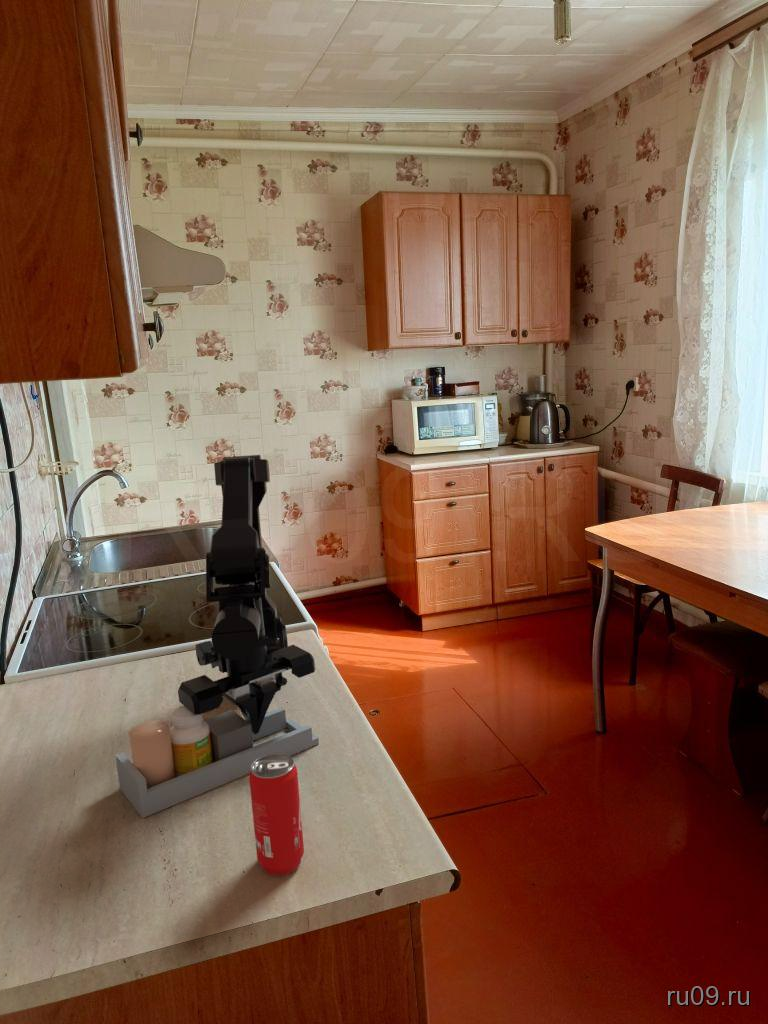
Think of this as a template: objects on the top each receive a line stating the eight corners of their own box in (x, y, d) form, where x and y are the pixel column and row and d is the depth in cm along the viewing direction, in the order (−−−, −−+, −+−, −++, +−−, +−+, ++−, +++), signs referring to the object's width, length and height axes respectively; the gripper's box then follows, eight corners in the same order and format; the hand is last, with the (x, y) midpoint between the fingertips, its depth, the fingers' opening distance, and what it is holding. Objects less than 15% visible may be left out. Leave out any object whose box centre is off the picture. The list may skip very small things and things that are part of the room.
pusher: (235, 747, 107) (231, 709, 106) (254, 763, 103) (251, 724, 101) (203, 760, 104) (199, 721, 103) (221, 777, 100) (217, 736, 98)
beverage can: (259, 849, 85) (250, 754, 82) (305, 844, 85) (297, 750, 83) (256, 880, 80) (245, 780, 77) (304, 875, 80) (295, 776, 78)
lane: (288, 723, 114) (286, 693, 113) (318, 744, 107) (316, 712, 106) (120, 788, 99) (115, 754, 97) (142, 818, 92) (137, 782, 91)
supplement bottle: (203, 790, 97) (195, 722, 95) (166, 787, 98) (157, 720, 96) (220, 767, 102) (213, 703, 100) (185, 765, 104) (177, 701, 101)
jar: (163, 777, 101) (155, 716, 99) (184, 790, 98) (176, 727, 96) (129, 794, 97) (121, 732, 95) (150, 808, 94) (142, 743, 92)
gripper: (273, 599, 114) (283, 692, 117) (155, 633, 103) (170, 735, 106) (312, 617, 105) (321, 717, 108) (188, 656, 94) (203, 767, 97)
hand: (255, 732), depth 105 cm, fingers closed
